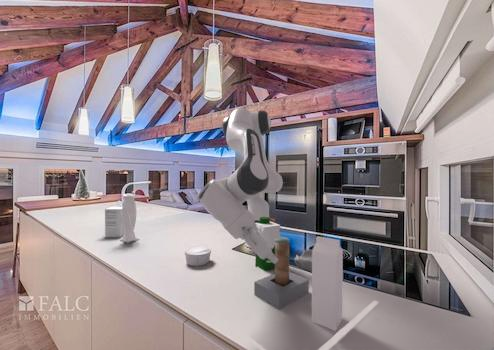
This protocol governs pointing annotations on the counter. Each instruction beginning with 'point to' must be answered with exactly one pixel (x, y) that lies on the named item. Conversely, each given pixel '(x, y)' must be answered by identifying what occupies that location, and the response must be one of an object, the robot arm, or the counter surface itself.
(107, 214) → the supplement box
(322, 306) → the milk
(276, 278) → the peg
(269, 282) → the socket block
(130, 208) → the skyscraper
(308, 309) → the counter surface
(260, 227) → the milk carton
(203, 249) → the ramekin
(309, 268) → the dish
